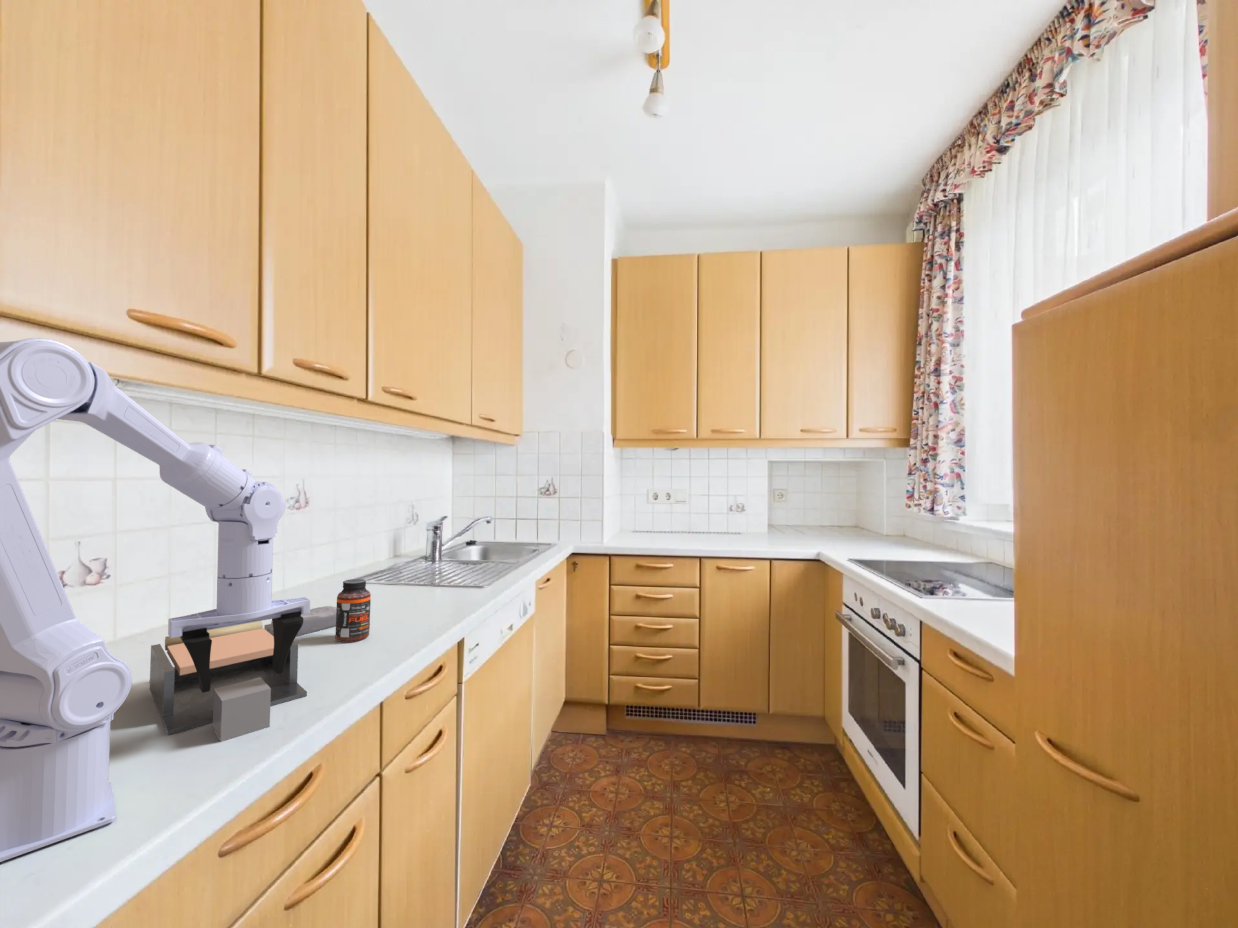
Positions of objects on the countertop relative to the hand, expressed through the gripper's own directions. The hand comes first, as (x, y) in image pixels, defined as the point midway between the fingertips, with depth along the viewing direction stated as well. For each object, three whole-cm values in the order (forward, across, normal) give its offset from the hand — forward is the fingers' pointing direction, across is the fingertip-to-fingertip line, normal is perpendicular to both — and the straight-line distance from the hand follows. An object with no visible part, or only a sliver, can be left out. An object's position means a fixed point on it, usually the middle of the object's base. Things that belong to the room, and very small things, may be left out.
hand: (243, 680), depth 64 cm
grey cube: (+6, 0, 0) cm, 6 cm away
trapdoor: (0, -1, -16) cm, 16 cm away
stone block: (+7, -19, -40) cm, 45 cm away
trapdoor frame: (+6, -1, -13) cm, 15 cm away
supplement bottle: (+6, -23, -26) cm, 35 cm away
